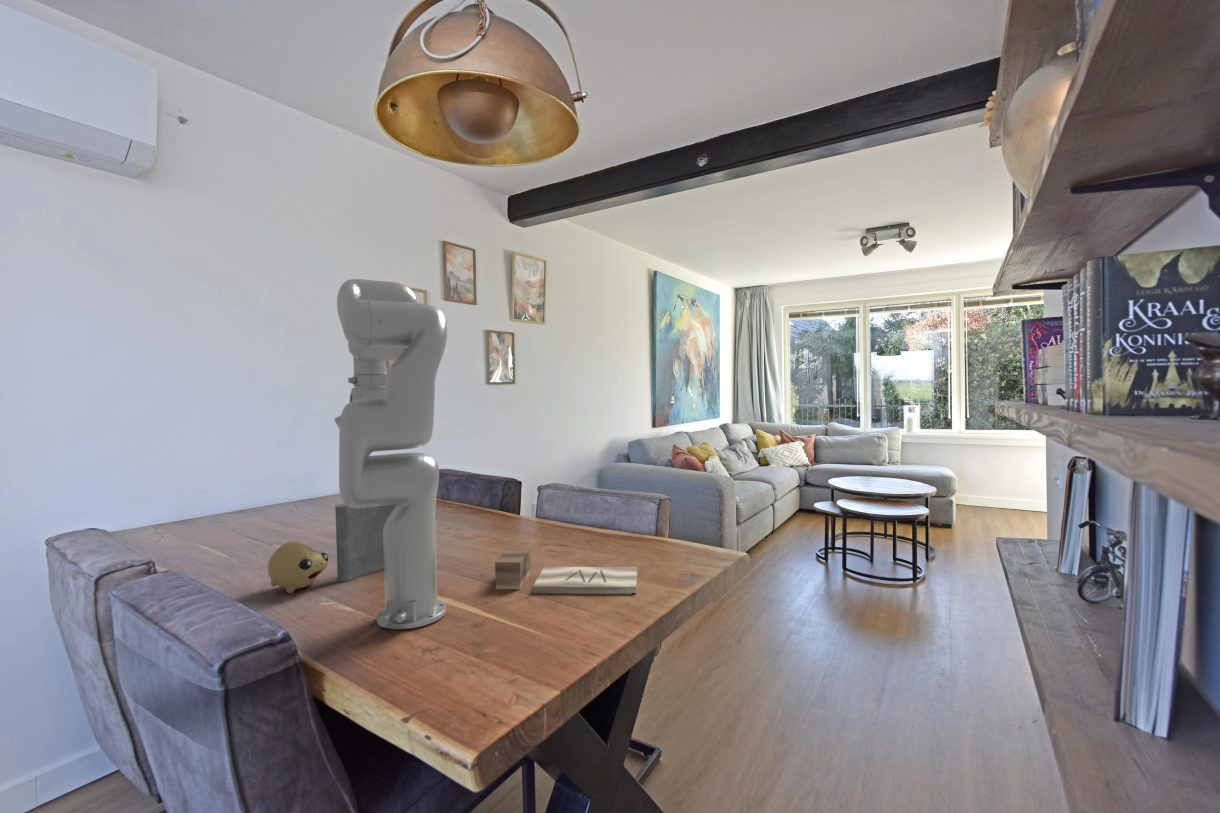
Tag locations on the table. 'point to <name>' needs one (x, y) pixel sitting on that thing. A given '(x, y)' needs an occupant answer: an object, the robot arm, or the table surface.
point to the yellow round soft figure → (295, 566)
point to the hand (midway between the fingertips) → (372, 449)
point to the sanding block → (512, 568)
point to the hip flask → (360, 540)
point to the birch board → (587, 580)
